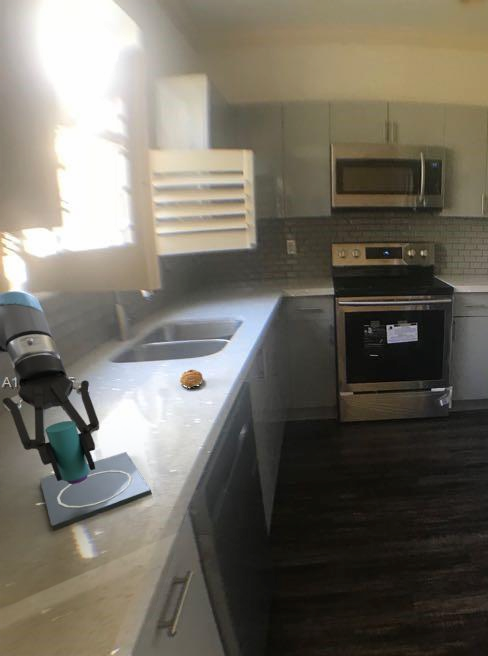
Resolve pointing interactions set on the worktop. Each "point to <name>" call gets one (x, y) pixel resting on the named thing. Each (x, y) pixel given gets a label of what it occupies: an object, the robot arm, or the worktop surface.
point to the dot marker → (68, 451)
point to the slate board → (94, 491)
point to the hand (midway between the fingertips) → (75, 472)
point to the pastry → (191, 378)
